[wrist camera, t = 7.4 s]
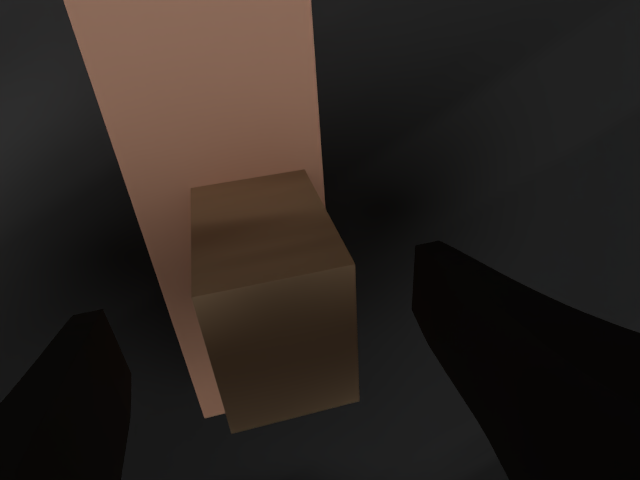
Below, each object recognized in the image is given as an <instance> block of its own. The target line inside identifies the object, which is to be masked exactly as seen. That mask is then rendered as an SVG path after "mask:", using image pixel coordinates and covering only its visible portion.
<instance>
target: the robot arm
mask: <svg viewBox="0 0 640 480" xmlns="http://www.w3.org/2000/svg"><path fill="white" fill-rule="evenodd" d="M412 311H413V313H414V315H415V317H416V320H417V322H418V324H419V326H420V328H421V331H422V333H423V335H424V337H425V339H426V341H427V343H428V345H429V346H430V348H431V350H432V351H433V353H434V354H435V356H436V357H437V359H438V361H439V362H440V364H441V365H442V367H443V368H444V370H445V372H446V373H447V375H448V376H449V378H450V379H451V381H452V382H453V384H454V385H455V387H456V388H457V390H458V392H459V393H460V395H461V396H462V398H463V399H464V401H465V402H466V404H467V405H468V407H469V408H470V410H471V412H472V413H473V415H474V416H475V418H476V419H477V421H478V423H479V424H480V426H481V428H482V429H483V431H484V433H485V434H486V436H487V438H488V440H489V441H490V443H491V445H492V447H493V449H494V451H495V453H496V455H497V457H498V459H499V461H500V463H501V465H502V467H503V468H504V470H505V472H506V474H507V476H508V478H509V480H640V333H638V332H635V331H632V330H629V329H626V328H624V327H621V326H618V325H615V324H613V323H610V322H607V321H605V320H602V319H600V318H597V317H595V316H592V315H589V314H587V313H584V312H582V311H579V310H577V309H575V308H572V307H570V306H567V305H565V304H563V303H561V302H559V301H556V300H554V299H552V298H550V297H548V296H546V295H543V294H541V293H539V292H537V291H535V290H533V289H531V288H529V287H527V286H525V285H523V284H521V283H519V282H517V281H515V280H513V279H511V278H509V277H507V276H505V275H503V274H501V273H499V272H498V271H496V270H494V269H492V268H490V267H488V266H486V265H485V264H483V263H481V262H479V261H477V260H475V259H473V258H472V257H470V256H468V255H466V254H464V253H462V252H461V251H459V250H457V249H455V248H453V247H451V246H449V245H447V244H445V243H443V242H441V241H435V242H430V243H425V244H420V245H416V246H415V263H414V280H413V298H412ZM130 411H131V372H130V370H129V368H128V365H127V363H126V361H125V359H124V356H123V354H122V352H121V349H120V347H119V345H118V343H117V340H116V338H115V336H114V334H113V331H112V329H111V327H110V325H109V322H108V320H107V318H106V316H105V313H104V311H103V309H102V310H97V311H92V312H87V313H82V314H78V315H73V316H72V317H71V318H70V319H69V321H68V322H67V323H66V324H65V325H64V327H63V328H62V329H61V330H60V331H59V333H58V334H57V335H56V336H55V338H54V339H53V340H52V341H51V343H50V344H49V345H48V346H47V348H46V349H45V350H44V351H43V353H42V354H41V355H40V356H39V358H38V359H37V360H36V361H35V363H34V364H33V365H32V366H31V367H30V369H29V370H28V371H27V372H26V374H25V375H24V376H23V377H22V378H21V380H20V381H19V382H18V383H17V384H16V386H15V387H14V388H13V389H12V391H11V392H10V393H9V394H8V395H7V396H6V398H5V399H4V400H3V401H2V402H1V403H0V480H121V475H122V468H123V462H124V456H125V449H126V443H127V436H128V430H129V423H130Z"/></svg>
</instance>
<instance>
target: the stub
mask: <svg viewBox="0 0 640 480" xmlns="http://www.w3.org/2000/svg"><path fill="white" fill-rule="evenodd" d="M63 1H64V4H65V6H66V9H67V12H68V15H69V18H70V21H71V24H72V27H73V30H74V33H75V36H76V39H77V42H78V45H79V48H80V51H81V54H82V57H83V60H84V63H85V66H86V69H87V72H88V75H89V78H90V80H91V83H92V86H93V89H94V92H95V95H96V98H97V101H98V104H99V107H100V110H101V113H102V116H103V119H104V122H105V125H106V128H107V131H108V134H109V137H110V140H111V143H112V146H113V149H114V152H115V154H116V157H117V160H118V163H119V166H120V169H121V172H122V175H123V178H124V181H125V184H126V187H127V190H128V193H129V196H130V199H131V202H132V205H133V208H134V211H135V214H136V217H137V220H138V223H139V226H140V228H141V231H142V234H143V237H144V240H145V243H146V246H147V249H148V252H149V255H150V258H151V261H152V264H153V267H154V270H155V273H156V276H157V279H158V282H159V285H160V288H161V291H162V294H163V297H164V300H165V302H166V305H167V308H168V311H169V314H170V317H171V320H172V323H173V326H174V329H175V332H176V335H177V338H178V341H179V344H180V347H181V350H182V353H183V356H184V359H185V362H186V365H187V368H188V371H189V374H190V377H191V379H192V382H193V385H194V388H195V391H196V394H197V397H198V400H199V403H200V406H201V409H202V412H203V415H204V418H208V417H212V416H216V415H220V414H224V413H226V417H227V420H228V424H229V427H230V430H231V434H233V433H237V432H241V431H245V430H248V429H252V428H256V427H260V426H264V425H268V424H272V423H276V422H280V421H284V420H288V419H291V418H295V417H299V416H303V415H307V414H311V413H315V412H319V411H323V410H327V409H331V408H334V407H338V406H342V405H346V404H350V403H354V402H358V401H359V372H358V340H357V308H356V275H355V263H354V261H353V259H352V257H351V255H350V254H349V252H348V250H347V248H346V246H345V244H344V242H343V240H342V239H341V237H340V235H339V233H338V231H337V229H336V227H335V226H334V224H333V222H332V220H331V218H330V216H329V214H328V212H327V211H326V209H325V194H324V180H323V166H322V152H321V137H320V123H319V109H318V94H317V80H316V66H315V52H314V37H313V23H312V9H311V0H63Z"/></svg>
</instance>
